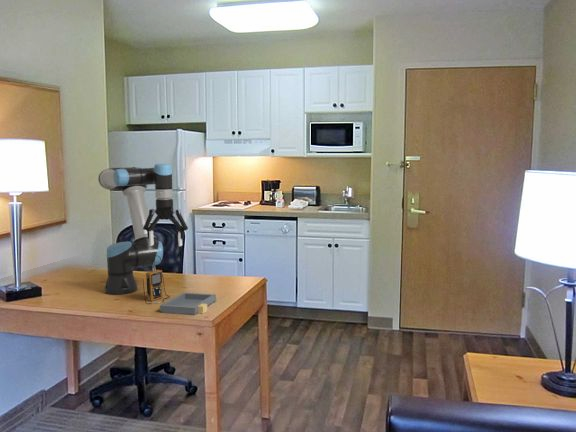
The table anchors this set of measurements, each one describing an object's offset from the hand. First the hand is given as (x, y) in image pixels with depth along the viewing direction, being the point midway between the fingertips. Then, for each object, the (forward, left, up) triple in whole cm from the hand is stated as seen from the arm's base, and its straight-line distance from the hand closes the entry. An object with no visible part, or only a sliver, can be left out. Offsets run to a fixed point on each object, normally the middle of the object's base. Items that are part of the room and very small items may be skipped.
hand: (166, 245), depth 231 cm
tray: (+16, -9, -25) cm, 31 cm away
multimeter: (-2, -3, -25) cm, 25 cm away
